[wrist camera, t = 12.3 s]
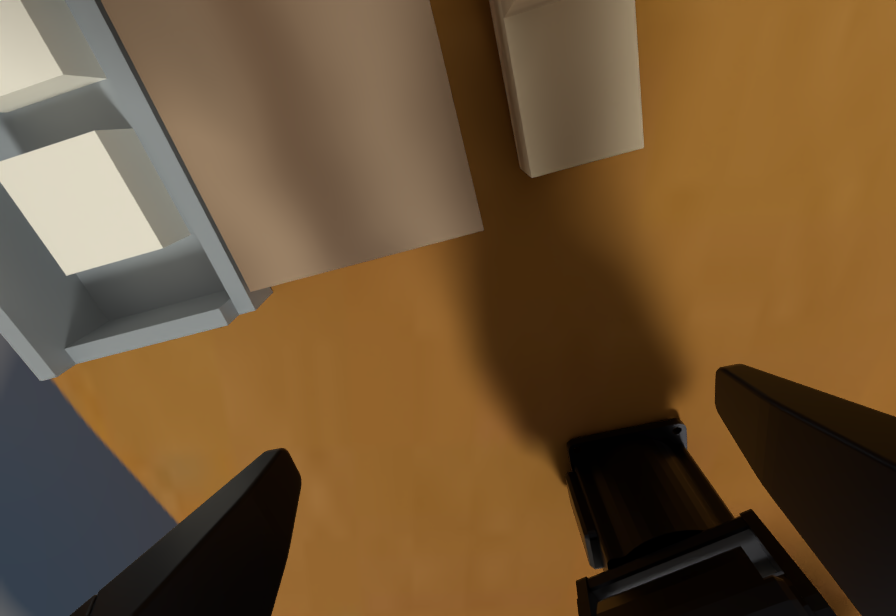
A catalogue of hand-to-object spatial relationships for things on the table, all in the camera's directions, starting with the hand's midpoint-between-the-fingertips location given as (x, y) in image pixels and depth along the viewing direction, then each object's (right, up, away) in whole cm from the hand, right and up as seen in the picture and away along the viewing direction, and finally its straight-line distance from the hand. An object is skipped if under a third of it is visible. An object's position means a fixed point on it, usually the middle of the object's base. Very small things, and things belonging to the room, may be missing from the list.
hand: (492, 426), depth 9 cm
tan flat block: (-6, +12, +7) cm, 16 cm away
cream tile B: (-15, +7, +9) cm, 19 cm away
